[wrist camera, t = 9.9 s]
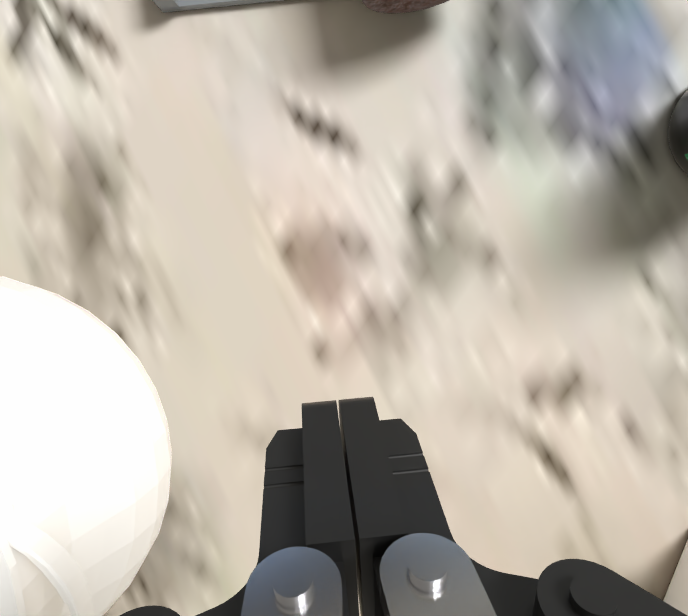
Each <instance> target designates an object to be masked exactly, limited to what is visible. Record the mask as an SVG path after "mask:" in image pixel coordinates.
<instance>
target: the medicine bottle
mask: <svg viewBox="0 0 688 616" xmlns="http://www.w3.org/2000/svg"><path fill="white" fill-rule="evenodd" d="M663 601H664V602H666V603H667V604H669V605H671V606H672V607H674V608H676V609H677V610H679V611H681V612H682V613H684V614H686V615H687V616H688V540H687V542H686V545H685V547H684V550H683V552H682V555H681V557H680V560H679V562H678V565H677V567H676V570H675V572H674V575H673V577H672V580H671V582H670V585H669V587H668V590H667V592H666V595H665V597H664V600H663Z"/></svg>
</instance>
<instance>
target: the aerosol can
mask: <svg viewBox="0 0 688 616" xmlns="http://www.w3.org/2000/svg"><path fill="white" fill-rule="evenodd" d="M447 1H449V0H362V2H363V3H364V4H365V5H366V6H367V7H368V8H369V9H372V10H374V11H377V12H383V13H406V12H412V11H417V10H422V9H427V8H430V7H433V6H436V5H439V4H442V3H444V2H447Z"/></svg>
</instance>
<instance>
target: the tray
mask: <svg viewBox="0 0 688 616" xmlns="http://www.w3.org/2000/svg"><path fill="white" fill-rule="evenodd" d="M152 1H153V2H154V3H155V4H156V5H157V6H158V7H159V8H160V9H161V11H162V12H163V13H164V12H174V11H183V10H193V9H203V8H213V7H223V6H233V5H242V4H252V3H262V2H272V1H282V0H152Z"/></svg>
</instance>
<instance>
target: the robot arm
mask: <svg viewBox="0 0 688 616" xmlns="http://www.w3.org/2000/svg"><path fill="white" fill-rule="evenodd" d="M339 418H340V426H339ZM339 418H338V411H337V404H336V400H335V401H324V402H313V403H302V428H299V429H288V430H278V431H277V433H276V434H275V436H274V437H273V439H272V441H271V442H270V444H269V445H268V447H267V448H266V462H265V477H264V491H263V505H262V520H261V534H260V548H259V558H258V563H257V566H256V568H255V569H254V570H253V572H252V573H251V575H250V577H249V579H248V582H247V584H246V585H245V586H244V587H243V588H242V589H241V590H240V591H239V592H238V593H237V594H236V595H234V596H233V597H232V598H230V599H229V600H227V601H226V602H224V603H223V604H221V605H219V606H217V607H215V608H212V609H210V610H208V611H205V612H203V613H201V614H198V615H196V616H359V606H358V595H359V603H360V611H361V616H687V615H686V614H684V613H682V612H681V611H679V610H677V609H676V608H674V607H672V606H671V605H669V604H667V603H666V602H664V601H662V600H661V599H659V598H657V597H656V596H654V595H652V594H650V593H649V592H647V591H645V590H644V589H642V588H640V587H639V586H637V585H635V584H634V583H632V582H630V581H629V580H627V579H625V578H624V577H622V576H620V575H619V574H617V573H615V572H614V571H612V570H610V569H608V568H606V567H604V566H602V565H599V564H597V563H594V562H590V561H587V560H580V559H565V560H560V561H557V562H554V563H552V564H551V565H549V566H548V567H547V568H546V569H545V570H544V571H543V572H542V574H541V575H540V577H539V579H534V578H528V577H523V576H517V575H512V574H507V573H502V572H498V571H494V570H492V569H489V568H486V567H484V566H482V565H480V564H479V563H477V562H475V561H474V560H472V559H471V558H470V557H469V556H468V555H467V554H466V553H465V551H464V550H463V549H462V548H461V547H460V546H458V545H457V544H456V542H455V541H454V539H453V537H452V535H451V532H450V530H449V527H448V524H447V521H446V518H445V515H444V512H443V509H442V507H441V504H440V501H439V498H438V495H437V492H436V489H435V486H434V484H433V481H432V478H431V475H430V472H428V466H427V463H426V461H425V458H424V456H423V452H422V449H421V446H420V443H419V440H418V438H417V435H416V433H415V432H414V431H413V430H412V429H411V428H410V427H409V426H408V425H407V424H406V423H405V422H404V421H403V420H402V419H391V420H381V421H379V417H378V413H377V409H376V406H375V402H374V398H373V397H365V398H355V399H344V400H339ZM120 616H180V615H179V614H178V613H177V612H175V611H173V610H171V609H169V608H166V607H163V606H144V607H140V608H136V609H133V610H131V611H128V612H126V613H124V614H122V615H120Z"/></svg>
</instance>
